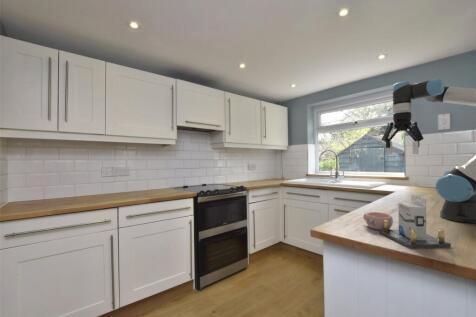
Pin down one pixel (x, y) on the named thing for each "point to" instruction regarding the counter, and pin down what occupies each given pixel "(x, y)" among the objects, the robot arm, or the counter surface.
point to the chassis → (415, 238)
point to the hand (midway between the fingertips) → (402, 154)
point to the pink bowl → (377, 220)
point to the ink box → (413, 217)
